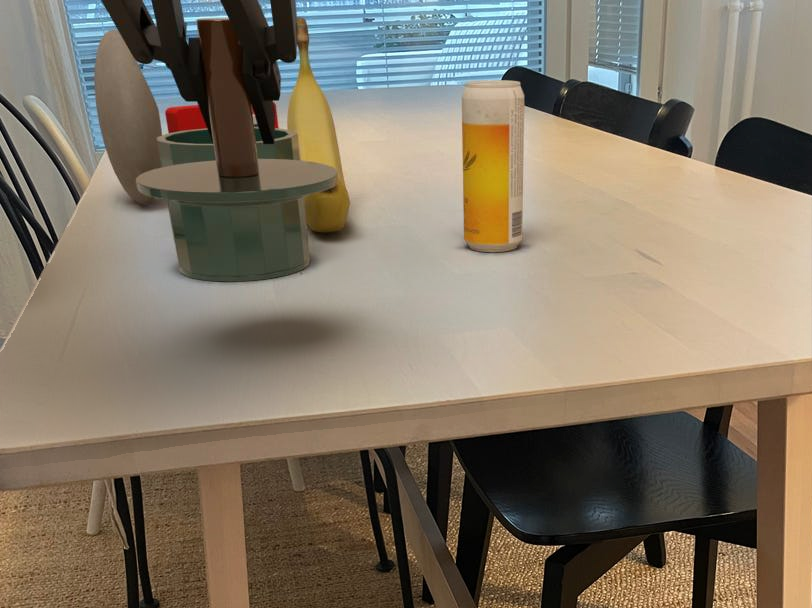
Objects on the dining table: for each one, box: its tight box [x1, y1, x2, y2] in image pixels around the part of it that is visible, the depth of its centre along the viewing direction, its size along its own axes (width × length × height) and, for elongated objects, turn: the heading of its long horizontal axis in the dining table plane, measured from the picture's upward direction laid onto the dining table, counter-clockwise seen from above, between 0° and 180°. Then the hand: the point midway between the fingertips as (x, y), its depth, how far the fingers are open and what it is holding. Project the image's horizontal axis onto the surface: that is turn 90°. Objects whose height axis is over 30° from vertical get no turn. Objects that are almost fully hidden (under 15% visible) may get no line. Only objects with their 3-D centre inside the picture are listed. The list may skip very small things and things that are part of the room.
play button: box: [164, 101, 280, 134], centre depth 132 cm, size 15×3×10 cm, turn 133°
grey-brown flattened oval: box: [93, 29, 163, 205], centre depth 120 cm, size 18×7×19 cm, turn 21°
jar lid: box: [136, 17, 339, 207], centre depth 65 cm, size 14×14×10 cm
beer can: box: [461, 79, 525, 253], centre depth 99 cm, size 6×6×15 cm
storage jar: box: [156, 127, 311, 283], centre depth 94 cm, size 13×13×12 cm
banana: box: [286, 16, 351, 233], centre depth 107 cm, size 23×6×20 cm, turn 12°
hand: (244, 126), depth 69 cm, fingers closed on jar lid, 3 cm apart
